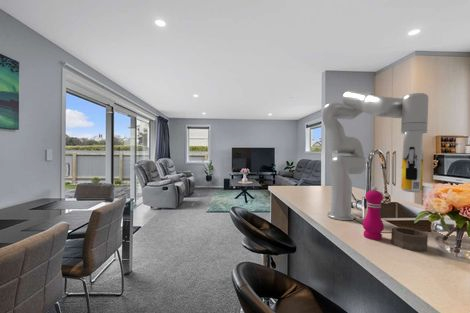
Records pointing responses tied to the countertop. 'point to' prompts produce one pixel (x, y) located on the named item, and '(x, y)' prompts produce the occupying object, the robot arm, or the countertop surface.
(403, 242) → the socket
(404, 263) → the countertop surface
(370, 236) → the pepper mill
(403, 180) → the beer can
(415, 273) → the countertop surface
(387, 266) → the countertop surface
